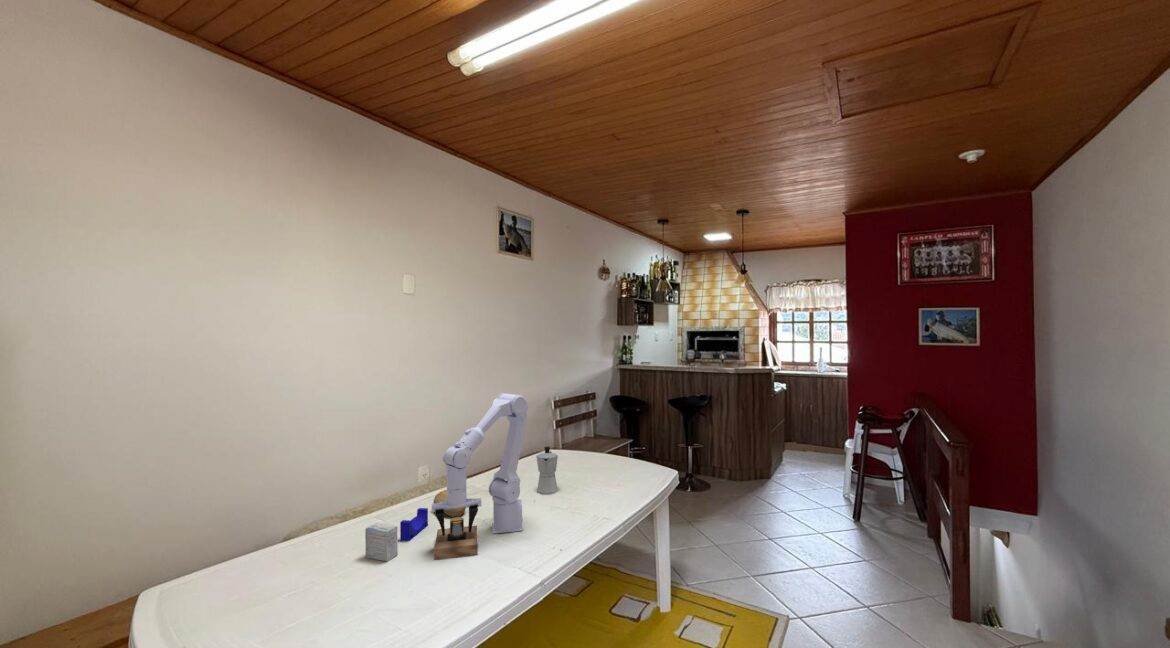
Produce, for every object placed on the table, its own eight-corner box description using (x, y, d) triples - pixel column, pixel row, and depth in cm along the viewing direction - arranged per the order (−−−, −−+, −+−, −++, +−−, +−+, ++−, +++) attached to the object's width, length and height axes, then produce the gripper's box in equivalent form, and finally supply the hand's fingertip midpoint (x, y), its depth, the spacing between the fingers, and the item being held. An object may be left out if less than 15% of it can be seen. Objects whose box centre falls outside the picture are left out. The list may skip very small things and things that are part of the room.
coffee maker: (556, 496, 185) (556, 450, 186) (534, 496, 186) (534, 450, 186) (559, 484, 200) (559, 441, 201) (538, 484, 200) (538, 442, 201)
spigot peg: (462, 542, 145) (462, 516, 145) (464, 547, 141) (464, 520, 141) (449, 544, 143) (449, 518, 143) (450, 550, 140) (450, 523, 140)
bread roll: (449, 503, 179) (449, 482, 179) (473, 513, 169) (473, 491, 169) (426, 511, 171) (426, 489, 172) (450, 521, 162) (450, 498, 162)
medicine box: (398, 555, 137) (398, 525, 137) (387, 562, 132) (387, 531, 133) (376, 551, 139) (376, 522, 139) (364, 558, 135) (364, 527, 135)
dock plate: (476, 534, 150) (476, 525, 150) (477, 554, 136) (477, 544, 137) (437, 539, 147) (437, 529, 147) (434, 559, 134) (434, 549, 134)
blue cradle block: (415, 525, 158) (415, 507, 159) (427, 526, 158) (427, 508, 158) (395, 541, 147) (395, 521, 147) (409, 541, 146) (409, 522, 146)
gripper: (479, 480, 148) (480, 524, 148) (431, 485, 144) (431, 530, 144) (482, 487, 142) (482, 533, 141) (431, 493, 137) (431, 540, 137)
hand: (456, 532), depth 142 cm, fingers open, 7 cm apart
